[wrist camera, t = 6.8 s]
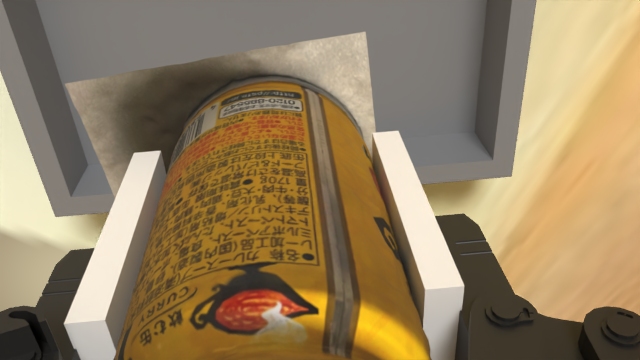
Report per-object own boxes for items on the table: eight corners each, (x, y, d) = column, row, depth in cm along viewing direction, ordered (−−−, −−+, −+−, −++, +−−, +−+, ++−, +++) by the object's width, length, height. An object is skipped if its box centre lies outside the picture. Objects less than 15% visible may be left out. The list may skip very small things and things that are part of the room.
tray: (520, -171, 28) (560, -169, 24) (486, 139, 37) (511, 176, 33) (-25, -132, 27) (-74, -124, 23) (78, 175, 36) (55, 216, 32)
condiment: (386, 232, 20) (510, 659, 10) (146, 272, 20) (21, 735, 10) (364, 28, 16) (532, 381, 6) (67, 78, 16) (-274, 510, 6)
